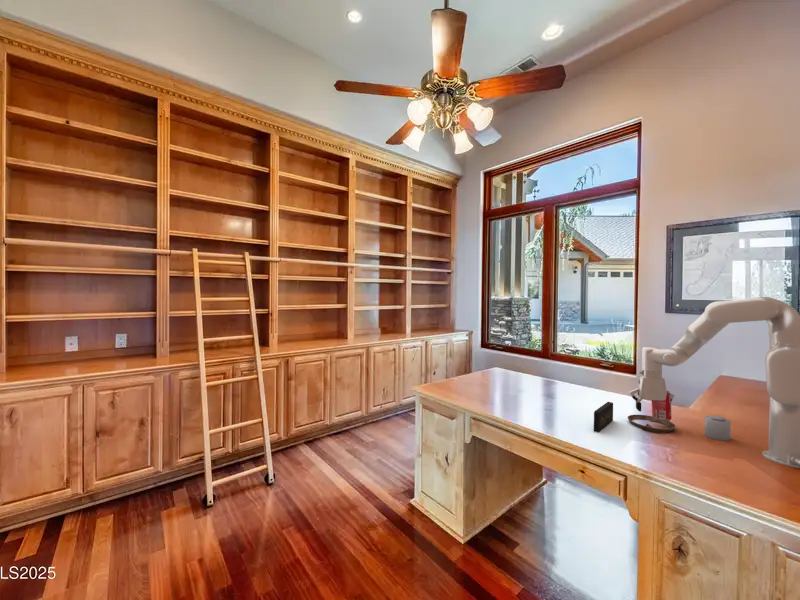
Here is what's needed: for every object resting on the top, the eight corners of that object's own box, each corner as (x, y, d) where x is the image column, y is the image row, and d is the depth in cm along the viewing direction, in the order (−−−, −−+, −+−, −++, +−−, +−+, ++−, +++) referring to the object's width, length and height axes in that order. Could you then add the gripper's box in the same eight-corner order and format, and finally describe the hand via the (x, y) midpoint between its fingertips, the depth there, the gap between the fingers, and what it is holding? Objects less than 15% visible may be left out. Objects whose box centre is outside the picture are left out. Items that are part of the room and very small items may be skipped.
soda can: (673, 422, 152) (673, 393, 152) (654, 420, 155) (654, 392, 155) (668, 417, 159) (668, 389, 159) (649, 415, 162) (649, 388, 162)
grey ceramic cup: (735, 443, 141) (735, 421, 140) (711, 440, 143) (711, 419, 143) (723, 435, 148) (723, 415, 148) (700, 433, 151) (701, 413, 150)
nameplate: (608, 422, 164) (608, 401, 164) (612, 423, 162) (613, 402, 162) (593, 434, 149) (593, 411, 149) (598, 435, 148) (598, 412, 148)
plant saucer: (673, 425, 160) (673, 419, 160) (677, 438, 145) (677, 431, 145) (627, 418, 170) (628, 411, 170) (626, 429, 155) (627, 422, 155)
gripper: (632, 374, 156) (632, 412, 156) (678, 377, 151) (677, 416, 151) (627, 371, 163) (626, 407, 163) (670, 373, 158) (669, 410, 158)
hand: (651, 411), depth 157 cm, fingers open, 9 cm apart
